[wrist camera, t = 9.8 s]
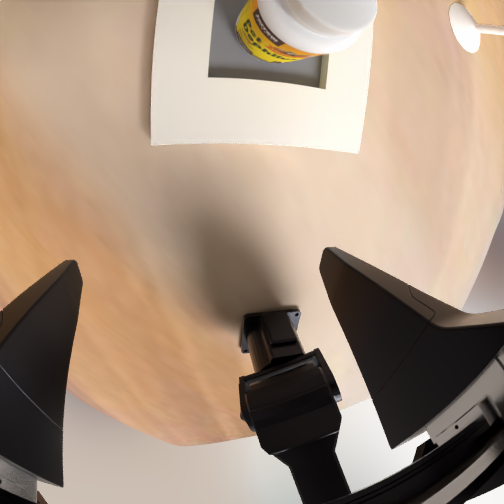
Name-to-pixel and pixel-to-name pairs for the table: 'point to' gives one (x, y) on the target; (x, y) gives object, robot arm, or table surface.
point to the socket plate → (250, 85)
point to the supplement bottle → (301, 27)
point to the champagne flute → (469, 28)
